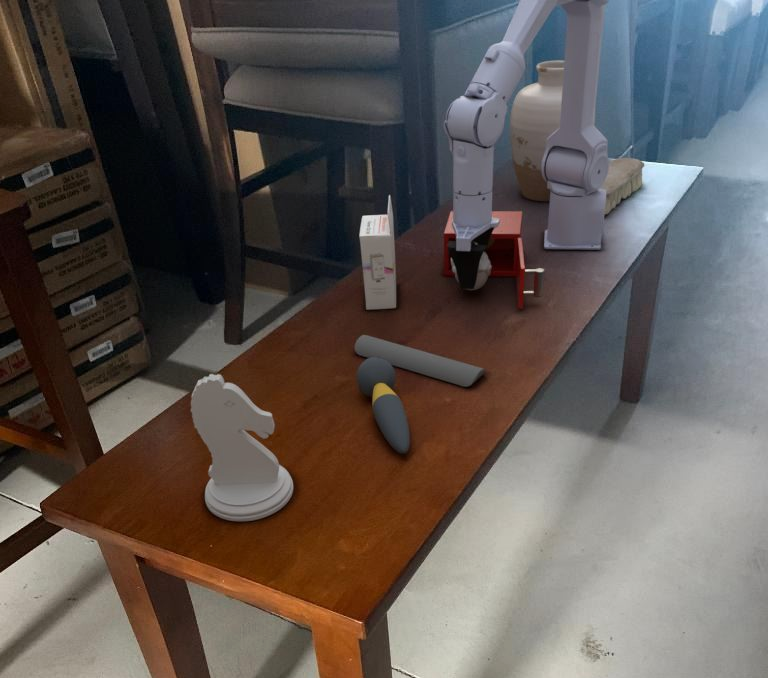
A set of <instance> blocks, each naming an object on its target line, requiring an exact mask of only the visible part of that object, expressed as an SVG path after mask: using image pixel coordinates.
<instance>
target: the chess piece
mask: <svg viewBox="0 0 768 678" xmlns="http://www.w3.org/2000/svg"><path fill="white" fill-rule="evenodd" d="M190 399H191V400H190V412H191V418H192V423H193V428H194V429H196V430H197V434H199V435H200V438H201V439H202V441H203V443H204V444H205V445H206V447H207V449H208V451H209V452H210V454H211V456H210V457H211V458H212V459H211V462H212V463H211V464H210V465H209V468H208V471H207V475H208V477H210V479H209V481H208V482H207V484H206V486H205V490H204V501H205V505H206V507H207V509H208V510H209V511H210V512H211V514H213V515H215V516H216V517H217V518H220V519H222V520H226V521H230V522H251V521H256V520H262V519H264V518H266V517H269V516H271V515H273V514H275V513H277V512H278V511H280V510H281V509H282V508H284V507H285V506H286V505H287V504H288V502H289V501H290V500H291V498H292V496H293V493H294V482H293V479H292V476H291V474H290V473H289V471H288V470H287V469H286V468H285V467H284V466H282V465H281V464H280V463H279V460H278V458H277V457H276V455H275V454H274V453H273V452H272V451H271V450H270V449H268V448H267V447H266V446H265V445H264V444H262V443H261V442H260V441H258V440H257V438H254V437H253V436H252V435H251V434H249V432H247V431H250V432H251V431H252V432H254V433H255V434H256V435H257V436H259V437H260V438H261V439H268V438H269V436H270V435H273V434H274V432H275V427H276V425H275V421H274V418H273V413H272V412H270V411H265V410H262V409H261V408H259V407H258V406H257V405H256V404H255V403H253V402H252V400H251V399H250V397H248V395H247V394H246V393H245V391H244V390H242V389H241V388H240V387H239V386H238V385H236V384H234V383H233V382H225V379H224V377H223V376H222V375H221V374H220V373H217V374H214V373H209V375H208V376H204V377H203V378H201V379H198V380H197V382H196V385H195V386H194V389H193V391H192V393H191V396H190Z"/></svg>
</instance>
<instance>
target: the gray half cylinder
mask: <svg viewBox="0 0 768 678" xmlns="http://www.w3.org/2000/svg"><path fill="white" fill-rule="evenodd" d="M354 351H355V353H356V354H357V355H358V356H361V357H365V358H367V359H368V358H372V357H377V358H381V359H384V360H386V361H388V362H389V363H390V364H391V365H392V366H393V367H398V368H401V369H404V370H407V371H411V372H415V373H418V374H421V375H424V376H427V377H431V378H434V379H437V380H441V381H443V382H447V383H450V384H454V385H457V386H460V387H470V386H472V385H473V384H474V383H475V382H476V381H477V380H479V379H480V378H481V377H482V376H483V375H484V374H485V373H486V372H487V369H485V368H483V367H480V366H475V365H474V364H469V363H466V362H462V361H459V360H455V359H453V358H452V359H451V358H448V357H444V356H441V355H437V354H435V353H431V352H427V351H423V350H420V349H416V348H413V347H411V346H410V347H409V346H406V345H402V344H399V343H396V342H393V341H388V340H386V339H381V338H378V337H374V336H371V335H367V334H362V335H360V336H359V337H358V338H357V339H356V341H355V344H354Z"/></svg>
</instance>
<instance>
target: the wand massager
mask: <svg viewBox="0 0 768 678" xmlns="http://www.w3.org/2000/svg"><path fill="white" fill-rule="evenodd" d="M396 377H397V376H396V371H395V369H394V366H393V365H391V364H390V363H389V362H388V361H386V360H384V359H381V358H377V357H372V358H368V357H367V358H366V359H365V360H363V362H361V364H360V365H359V366H358V369H357V372H356V383H357V387H358V388H359V390H360V391H361V392H362V394H363V395H365V396H368V397H370V398H372V401H371V403H372V404H371V405H372V406H371V408H372V412H373V416H374V419H375V421H376V424H377V426H378V427H379V430H380V431H381V434H382V435H383V436H384V438H385V439H386V441H387V443H388V444H389V445H390V446H391V447H392V448H393V450H395V451H396V452H397V453H400V454H406V453H408V451H409V448H410V445H411V443H410V442H411V436H410V435H411V434H410V426H409V421H408V417H407V413H406V410H405V407H404V405H403V402H402V400H401V398H400V397H399V395H398V394H396V392H395V391H394V390H393V389H394V387H395V384H396V379H397V378H396Z"/></svg>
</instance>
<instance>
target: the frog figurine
mask: <svg viewBox="0 0 768 678" xmlns="http://www.w3.org/2000/svg"><path fill="white" fill-rule="evenodd" d="M475 245H478V244H477V243H476V242H475ZM451 265H452V266H453V267H452V271H453V273H455V275H454V277H455V280H456V281H457V283H458V284H459V281H458V276H457V271H456V267H455V264H454V262H453V260H452V258H451ZM491 268H492V266H491V264H490V260H488V256H487V254H486V253H485V252H483V254H482V256H481V259H480V263H479V267H478V273H477V279H476V283H475V286H474V289H466V290H467V291H476V290H479V289H481V288H483V286H484V285H486V282H487V280H488V278H489V277H490V276H489V275H490V274H491V271H490V270H491Z"/></svg>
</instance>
